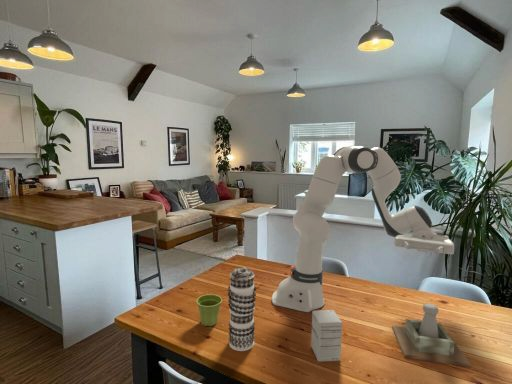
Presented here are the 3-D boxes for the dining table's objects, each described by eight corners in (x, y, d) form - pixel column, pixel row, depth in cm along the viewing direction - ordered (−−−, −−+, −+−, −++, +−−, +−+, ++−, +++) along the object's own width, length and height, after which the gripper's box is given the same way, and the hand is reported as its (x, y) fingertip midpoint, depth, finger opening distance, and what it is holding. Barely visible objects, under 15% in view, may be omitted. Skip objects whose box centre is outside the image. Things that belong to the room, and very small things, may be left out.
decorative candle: (237, 331, 102) (238, 263, 99) (260, 339, 97) (261, 268, 94) (222, 345, 94) (221, 271, 91) (246, 355, 89) (246, 278, 86)
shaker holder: (404, 357, 89) (405, 340, 89) (392, 328, 105) (393, 313, 104) (470, 367, 85) (472, 349, 85) (447, 335, 101) (448, 320, 100)
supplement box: (310, 346, 94) (311, 309, 92) (332, 345, 94) (334, 309, 93) (317, 362, 87) (318, 322, 85) (341, 361, 87) (342, 321, 86)
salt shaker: (440, 350, 91) (443, 311, 90) (420, 346, 93) (423, 308, 92) (435, 339, 97) (438, 302, 95) (416, 336, 99) (418, 299, 97)
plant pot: (212, 312, 114) (212, 291, 113) (227, 322, 107) (227, 300, 106) (191, 321, 107) (191, 299, 107) (206, 332, 101) (206, 309, 100)
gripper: (395, 229, 124) (392, 237, 112) (453, 236, 114) (456, 245, 102) (395, 244, 125) (391, 252, 113) (451, 252, 114) (454, 262, 102)
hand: (422, 249), depth 107 cm, fingers open, 8 cm apart
